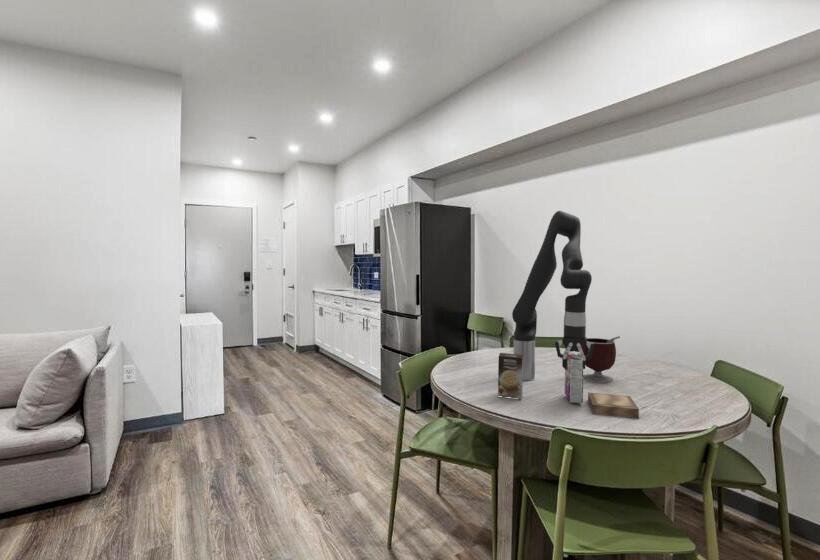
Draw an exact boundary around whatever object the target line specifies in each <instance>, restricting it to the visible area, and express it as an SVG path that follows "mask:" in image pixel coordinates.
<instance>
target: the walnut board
mask: <svg viewBox="0 0 820 560" xmlns="http://www.w3.org/2000/svg"><path fill="white" fill-rule="evenodd" d="M587 393H588V394H587V398H588V399H587V401H588V403H589V404H588V405H589V407H590V409H591V413H592V414H593V415H595V414H596V415H602V416H603V415H606V416H614V417H623V418H624V417H625V418H633V419H634V418H635V419H640V409H639V407H638V405H637V404H636V403H635V401H634V400H633V398H632V397H631V396H630V395H622V394H621V395H619V394H611V393H598V392H587Z"/></svg>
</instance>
